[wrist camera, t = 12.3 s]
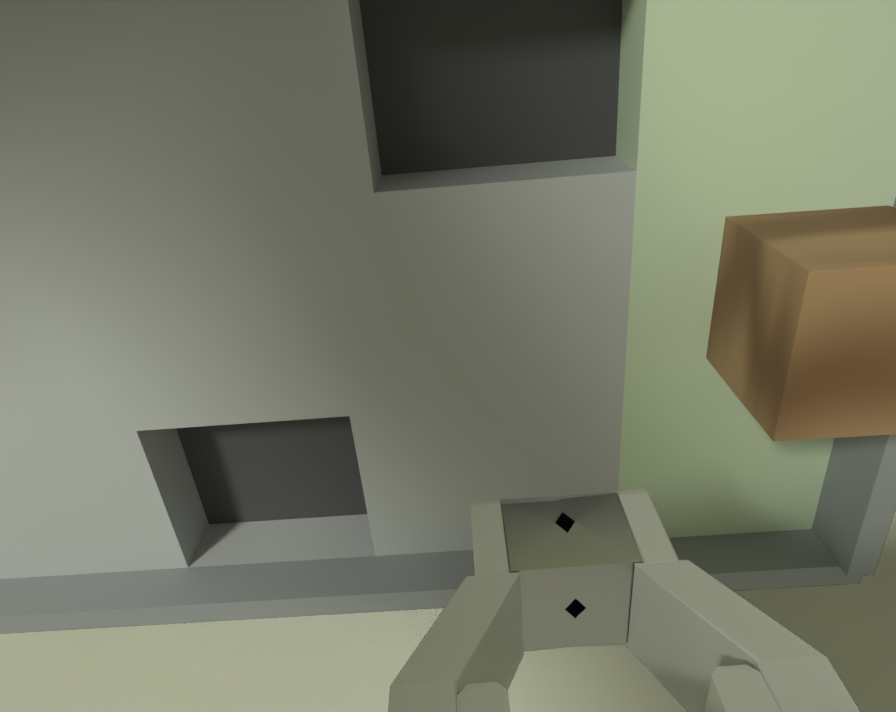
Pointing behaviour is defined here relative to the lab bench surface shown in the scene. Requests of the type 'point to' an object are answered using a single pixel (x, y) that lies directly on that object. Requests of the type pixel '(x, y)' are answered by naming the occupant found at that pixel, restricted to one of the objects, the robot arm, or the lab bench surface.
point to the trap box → (404, 290)
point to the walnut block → (809, 321)
